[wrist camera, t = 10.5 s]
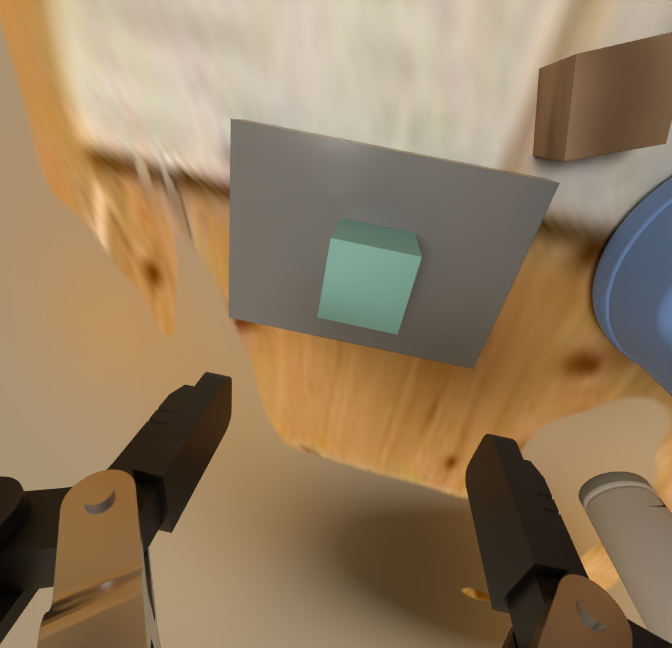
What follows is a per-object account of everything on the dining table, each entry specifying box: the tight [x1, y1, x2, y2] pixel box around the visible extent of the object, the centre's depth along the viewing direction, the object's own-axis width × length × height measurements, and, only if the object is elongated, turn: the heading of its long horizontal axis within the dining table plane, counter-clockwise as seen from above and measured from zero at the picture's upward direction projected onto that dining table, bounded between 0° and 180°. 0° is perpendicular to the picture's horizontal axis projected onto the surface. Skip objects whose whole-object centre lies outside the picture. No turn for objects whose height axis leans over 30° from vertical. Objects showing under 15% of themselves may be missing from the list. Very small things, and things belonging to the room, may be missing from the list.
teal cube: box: [317, 218, 422, 335], centre depth 22 cm, size 5×5×5 cm
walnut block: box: [533, 32, 672, 161], centre depth 18 cm, size 4×4×4 cm
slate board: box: [229, 119, 559, 369], centre depth 25 cm, size 20×14×2 cm
